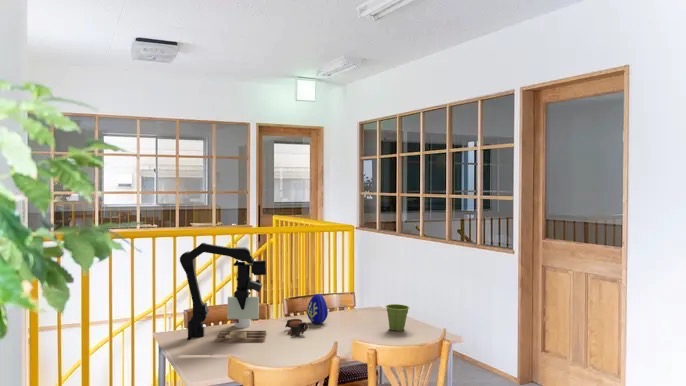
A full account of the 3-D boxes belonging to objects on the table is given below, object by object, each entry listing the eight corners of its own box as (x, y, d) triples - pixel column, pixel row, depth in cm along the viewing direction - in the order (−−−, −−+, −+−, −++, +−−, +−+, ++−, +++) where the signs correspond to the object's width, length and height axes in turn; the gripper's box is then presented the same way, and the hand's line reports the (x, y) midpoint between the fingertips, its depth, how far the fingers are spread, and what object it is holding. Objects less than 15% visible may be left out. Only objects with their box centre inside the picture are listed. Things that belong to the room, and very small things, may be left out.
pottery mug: (281, 337, 249) (281, 319, 253) (291, 341, 257) (290, 324, 261) (304, 333, 245) (304, 315, 250) (313, 337, 253) (313, 320, 257)
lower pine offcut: (224, 341, 235) (225, 336, 235) (226, 339, 239) (226, 334, 239) (245, 341, 236) (245, 336, 236) (246, 339, 239) (246, 334, 239)
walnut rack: (214, 344, 234) (214, 338, 234) (219, 335, 249) (219, 329, 249) (264, 344, 235) (264, 338, 235) (267, 335, 250) (267, 329, 250)
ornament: (303, 322, 275) (304, 293, 275) (317, 319, 281) (318, 291, 281) (317, 326, 267) (318, 296, 267) (331, 323, 273) (332, 294, 273)
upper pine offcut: (229, 336, 236) (229, 333, 236) (230, 334, 239) (230, 331, 239) (245, 336, 236) (245, 333, 236) (246, 334, 239) (246, 331, 239)
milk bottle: (251, 326, 266) (253, 285, 267) (248, 329, 258) (250, 288, 259) (236, 325, 266) (237, 285, 267) (232, 329, 259) (234, 287, 259)
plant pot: (401, 334, 256) (401, 310, 256) (380, 329, 263) (380, 306, 263) (413, 329, 266) (414, 306, 266) (393, 325, 273) (393, 303, 273)
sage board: (227, 319, 245) (227, 297, 245) (227, 318, 246) (228, 296, 246) (258, 319, 246) (258, 297, 246) (258, 318, 247) (258, 296, 247)
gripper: (259, 278, 237) (258, 314, 237) (262, 272, 256) (262, 304, 256) (234, 278, 236) (233, 314, 236) (239, 272, 255) (238, 304, 255)
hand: (243, 309), depth 246 cm, fingers closed on sage board, 2 cm apart
